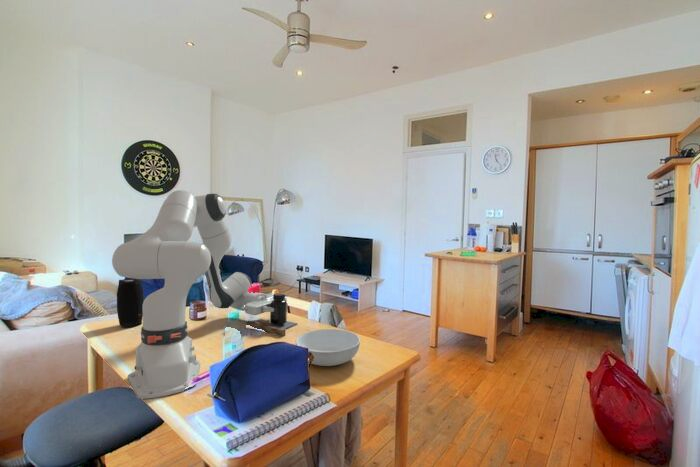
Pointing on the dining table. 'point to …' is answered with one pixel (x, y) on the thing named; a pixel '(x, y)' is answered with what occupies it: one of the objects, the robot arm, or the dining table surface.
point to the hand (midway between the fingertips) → (280, 307)
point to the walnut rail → (267, 328)
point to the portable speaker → (130, 302)
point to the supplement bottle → (278, 309)
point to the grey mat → (283, 325)
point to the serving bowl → (330, 346)
